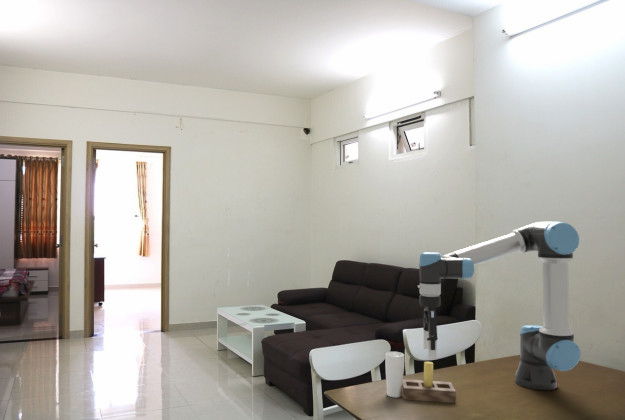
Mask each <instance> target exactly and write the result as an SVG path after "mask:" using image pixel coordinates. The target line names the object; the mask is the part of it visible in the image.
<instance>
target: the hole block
mask: <svg viewBox="0 0 625 420" xmlns="http://www.w3.org/2000/svg"><path fill="white" fill-rule="evenodd" d="M456 391H457V390H456V389H455V387H454V385H453V384H452V382H451V381H439V380H438V381H437V380H433V387H424V379H423V380H421V379H409V378H408V379H407V378H406V379H404V378H403V381H402V394H401V395H402V398H403V400H405V401H407V400H408V401H409V400H410V401H411V400H412V401H420V402H439V403H449V404H450V403H453V404H456V399H457V395H456V394H457V392H456Z"/></svg>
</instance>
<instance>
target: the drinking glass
mask: <svg viewBox="0 0 625 420" xmlns="http://www.w3.org/2000/svg"><path fill="white" fill-rule="evenodd" d="M384 360H385V361H384V362H385V366H384V367H385V379H386V380H385V383H386V395H387V396H388V397H390V398H400V397H402V395H403V394H402V381H403V379H404V373H405V354H404V353H403V352H399V351H388V352H386V353H385V359H384Z"/></svg>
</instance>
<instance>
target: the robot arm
mask: <svg viewBox="0 0 625 420" xmlns="http://www.w3.org/2000/svg"><path fill="white" fill-rule="evenodd" d="M579 244H580V236H579V233H578V231H577V230H576V228H575V227H574V226H573V225H571V224H570V223H568V222H565V221H564V222H563V221H558V220H557V221H556V220H555V221H537V222H533V223H531V224H527V225H525V226H523V227H519V228H516V229H513V230H512V231H511V232H510V233H509V234H507V235H502V236H499V237H496V238H494V239H490V240H488V241H484V242H481V243H477V244H475V245H472V246H468V247H466V248H463V249H459V250H455V251H453V252H449V253H447V254H441V253H440V252H434V251H433V252H432V251H431V252H430V251H429V252H428V251H427V252H425V251H424V252H421V253H420V255H419V265H418V267H419V269H418V270H419V285H417V288H418V289H419V294H420V295H419V298H418V299H419V300H418V301H419V303H418V304H419V305H420V306H421V307H423V320H422V321H423V322H422V329H423V349H426V350H428V351H427V353H428V356H427V357H428V360H437V347H438V346H437V341H438V339H439V338H438V326H437V311H436V310H435V308H439V307H440V306H441V303H442V302H441V296H440V295H441V294H442V291H441V290H442V289H441V287H442V282H441V279H443V280H444V279H454V280H457V279H459V280H464V279H465V280H466V279H471V278H473V276H474V274H475V266H477V265H480V264H483V263H487V262H491V261H493V260H496V259H501V258H503V257H505V256H510V255H513V254H516V253H519V254H524V253H527V252H537V259H538V260H540V261H541V262H542V316H543V318H542V322H543V323H542V324H543V325H532V324H531V325H530V324H529V325H527V324H526V325H522V327H521V328H520V335H519V336H520V341H519V342H520V344H519V345H520V350H519V351H520V352H519V355H520V356H519V364H518V366H517V367H518V368H517V369H516V372H515V374H514V375H515V376H514V381H515V383H516V384H518V385H519V386H521V387H525V388H527V389H531V390H537V391H539V390H540V391H553V390H555V389H557V388H558V385H557V384H558V382H557V381H558V380H557V378H556V375H555V372H554V370H557V371H561V372H567V371H570V370H572V369H574V368H575V366H577V365H578V364H579V361H580V359H581V349H580V347H579V346H578V344H577V343H576V342H575V335H574V334H575V333H574V331H572V329H571V328H570V312H569V311H570V302H569V300H570V298H569V297H570V295H569V291H570V289H569V262H571V261H572V260H573V259H574V254H573V253H574V252H575V251H576V249H577V248H578V247H579Z"/></svg>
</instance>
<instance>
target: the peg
mask: <svg viewBox="0 0 625 420" xmlns="http://www.w3.org/2000/svg"><path fill="white" fill-rule="evenodd" d="M423 380H424V387H433V381H434V363H433V362H432V361H423Z"/></svg>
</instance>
